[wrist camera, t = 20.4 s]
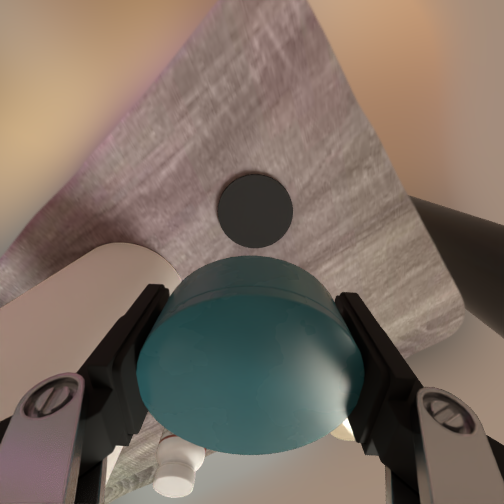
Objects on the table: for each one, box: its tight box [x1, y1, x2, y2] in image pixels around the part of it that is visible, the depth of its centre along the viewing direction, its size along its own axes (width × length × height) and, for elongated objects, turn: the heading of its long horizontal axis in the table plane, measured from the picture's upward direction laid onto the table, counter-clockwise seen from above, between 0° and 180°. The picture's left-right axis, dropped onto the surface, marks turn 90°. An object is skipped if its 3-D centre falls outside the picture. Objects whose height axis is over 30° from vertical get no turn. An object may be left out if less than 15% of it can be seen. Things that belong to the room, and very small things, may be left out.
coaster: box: [218, 174, 293, 248], centre depth 26 cm, size 8×8×1 cm
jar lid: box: [136, 256, 365, 455], centre depth 8 cm, size 7×7×2 cm
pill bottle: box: [153, 427, 206, 498], centre depth 33 cm, size 6×6×11 cm
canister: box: [0, 243, 182, 483], centre depth 21 cm, size 14×14×20 cm
